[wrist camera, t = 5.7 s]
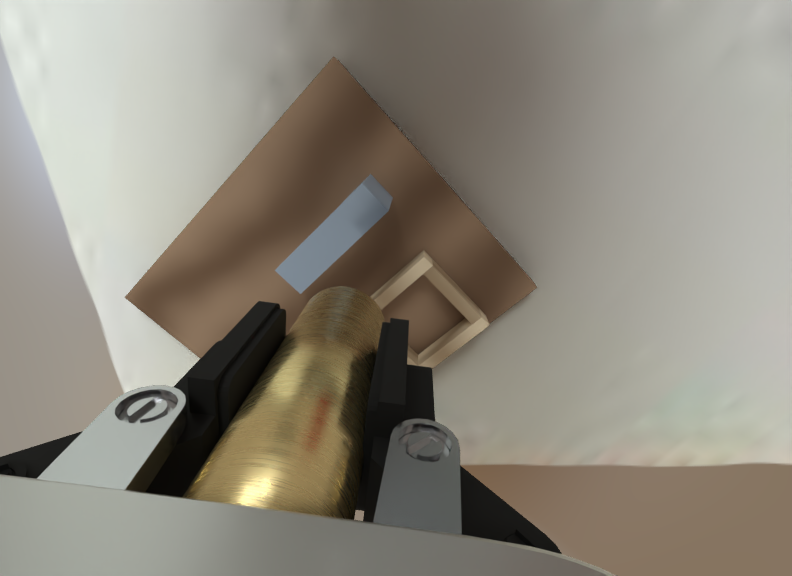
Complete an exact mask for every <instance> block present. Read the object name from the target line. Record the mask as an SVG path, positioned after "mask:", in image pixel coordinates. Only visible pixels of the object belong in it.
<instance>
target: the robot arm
mask: <svg viewBox="0 0 792 576" xmlns="http://www.w3.org/2000/svg"><path fill="white" fill-rule="evenodd" d="M408 335H409V320H404V319H396V318H391V319H390V323H389V322H382V327H381V333H380V338H379V344H378V349H377V354H376V360H375V365H374V370H373V376H372V381H371V387H370V392H369V398H368V405H367V412H366V421H365V430H364V439H363V454H364V460H363V468H362V474H361V480H360V486H359V492H358V498H357V504H356V510H362V511H364V519H363V521H358V520H350V519H343V518H336V517H328V516H321V515H314V514H306V513H299V512H292V511H284V510H276V509H269V508H261V507H254V506H246V505H238V504H231V503H223V502H215V501H208V500H200V499H192V498H184V497H183V495H184V494H185V492H186V491H187V489H188V488H189V486H190V484H191V483H192V481H193V480H194V478H195V477H196V475H197V474H198V472H199V470H200V469H201V467H202V466H203V464H204V463H205V461H206V460H207V458H208V457H209V455H210V453H211V452H212V450H213V449H214V447H215V446H216V444H217V443H218V441H219V439H220V438H221V436H222V435H223V433H224V432H225V430H226V429H227V427H228V426H229V424H230V422H231V421H232V419H233V418H234V416H235V415H236V413H237V412H238V410H239V408H240V407H241V405H242V404H243V402H244V401H245V399H246V398H247V396H248V394H249V393H250V391H251V390H252V388H253V387H254V385H255V384H256V382H257V381H258V379H259V377H260V376H261V374H262V373H263V371H264V370H265V368H266V367H267V365H268V363H269V362H270V360H271V359H272V357H273V356H274V354H275V353H276V351H277V350H278V348H279V346H280V345H281V343H282V342H283V340H284V339H285V337H286V310H285V309H280V305H279V304H278V303H271V302H264V301H258V302H257V303H256V304H255V305H254V306H253V307H252V308H251V309H250V311H249V312H248V313H247V314H246V315H245V316H244V317H243V318H242V319H241V320H240V321H239V322H238V323H237V324H236V325H235V327H234V328H233V329H232V330H231V331H230V332H229V333H228V334H227V335H226V336H225V337H224V338H223V339H222V340H221V341H218V342H216V343H215V344H214V345H213V346H212V347H211V348H210V349H209V350H208V351H207V352H206V353H205V355H204V356H203V357H202V358H201V359H200V360H199V361H198V362H197V363H196V364H195V365H194V366H193V367H192V368H191V369H190V370H189V371H188V372H187V373H186V374H185V376H184V377H183V378H182V379H181V380H180V381H179V382H178V383H177V384H176V385H175V386H174V387H171V386H165V385H153V386H147V387H141V388H138V389H135V390H132V391H129V392H127V393H125V394H123V395H121V396H119V397H118V398H117V399H115V400H114V401H113V402H112V403H111V404H110V405H109V406H108V407H107V408H106V409H105V410H104V411H103V412H102V413H101V414H100V415H99V416H98V417H97V418H96V419H95V420H94V421H93V422H92V423H91V424H90V425H89V426H88V427H87V428H86V429H85V430H84V431H82V432H79V433H76V434H72V435H69V436H66V437H63V438H60V439H57V440H53V441H50V442H47V443H44V444H41V445H37V446H34V447H31V448H28V449H25V450H21V451H18V452H15V453H12V454H9V455H6V456H2V457H0V576H616V575H614V574H612V573H610V572H608V571H606V570H604V569H602V568H599V567H597V566H594V565H591V564H589V563H586V562H583V561H580V560H577V559H574V558H572V557H569V556H566V555H563V554H562V553H561V552H560V550H559V549H558V547H557V546H556V545H555V544H554V543H553V542H552V541H551V540H550V539H549V538H548V537H547V536H546V535H545V534H544V533H543V532H541V531H540V530H539V529H538V528H537V527H535V526H534V525H533V524H532V523H530V522H529V521H528V520H527V519H526V518H524V517H523V516H522V515H520V514H519V513H518V512H517V511H515V510H514V509H513V508H512V507H511V506H509V505H508V504H507V503H506V502H505V501H503V500H502V499H501V498H500V497H498V496H497V495H496V494H495V493H493V492H492V491H491V490H490V489H489V488H487V487H486V486H485V485H484V484H482V483H481V482H480V481H479V480H477V479H476V478H475V477H474V476H472V475H471V474H470V473H469V472H468V471H466V470H465V469H464V468H462V467H461V466H460V447H459V443H458V440H457V438H456V437H455V435H454V434H453V432H451V431H450V430H449V429H448V428H447V427H445V426H444V425H442V424H440V423H438V422H435V414H434V397H433V379H432V368H431V367H424V366H416V365H408V364H407V356H408Z"/></svg>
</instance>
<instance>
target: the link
mask: <svg viewBox="0 0 792 576" xmlns="http://www.w3.org/2000/svg"><path fill="white" fill-rule="evenodd" d="M423 274H424V275H425V276H426V277H427V278H428V279H429V280H430V281H431V282H432V284H433V285H434V286H435V287H436V288H437V289H438V290H439V291H440V292H441V293H442V294H443V295H444V296H445V297H446V298H447V299H448V300H449V301H450V302H451V303H452V304H453V305H454V306H455V307H456V308H457V309H458V310H459V311H460V312H461V313H462V315H463V316H464V317H465V319H463V320H462V321H461V322H460V323H458V324H457V325H456V326H455V327H453V328H452V329H451V330H449V331H448V332H447V333H446V334H444V335H443V336H442V337H440V338H439V339H438V340H437V341H435V342H434V343H433V344H431V345H430V346H429V347H428V348H426V349H425V350H424V351H423V352H421V353H420V354H419V355H418V354H417V353H416V352H415V351H414V350H413V349H411V348H410V347H409V346H408V356H407V364H408V365H416V366H424V367H431V368H432V369H433V368H434V367H435V366H437V365H438V364H439V363H441V362H442V361H443V360H445V359H446V358H447V357H449V356H450V355H451V354H453V353H454V352H455V351H456V350H458V349H459V348H460V347H462V346H463V345H464V344H466V343H467V342H468V341H470V340H471V339H472V338H474V337H475V336H476V335H478V334H479V333H480V332H482V331H483V330H484V329H485V328H487V327H488V326H489V322H488V319H487V317H486V315H485V314H484V313H483V312H482V311H481V310H480V309H479V307H478V306H477V305H476V304H475V303H474V302H473V301H472V300H471V299H470V298H469V297H468V296H467V295H466V294H465V293H464V292H463V291H462V290H461V288H460V287H459V286H458V285H457V284H456V283H455V282H454V281H453V280H452V279H451V278H450V277H449V276H448V275H447V274H446V273H445V272H444V271H443V269H442V268H441V267H440V266H439V265H438V264H437V263H436V262H435V261H434V260H433V259H432V258H431V257H430V256H429V255H428V254H427V253H426V252H425V251H424V250H423V251H422V252H421V253H420V254H418V255H417V256H416V257H415V258H414V259H413V260H412V261H410V262H409V263H408V264H407V265H406V266H405V267H404V268H402V269H401V270H400V271H399V272H398V273H397V274H396V275H394V276H393V277H392V278H391V279H390V280H389V281H388V282H386V283H385V284H384V285H383V286H382V287H381V288H380V289H379V290H377V291H376V292H375V293H374V294H373V295H372V296H371V298H372V299H373V300H374V301H375V302H376V303H377V304H378V306H379V307H380V309H381V310H382V309H383V308H384V307H385V306H386V305H387V304H389V303H390V302H391V301H392V300H393V299H394V298H396V297H397V296H398V295H399V294H400V293H402V292H403V291H404V290H405V289H406V288H407V287H409V286H410V285H411V284H412V283H413V282H414V281H416V280H417V279H418V278H419V277H420V276H421V275H423Z"/></svg>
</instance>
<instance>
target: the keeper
mask: <svg viewBox="0 0 792 576" xmlns="http://www.w3.org/2000/svg"><path fill="white" fill-rule="evenodd" d="M392 199H393V197H392V196H391V195H390V194H389V193H388V192H387V191H386V190H385V189H384V188H383V187H382V185H381V184H380V183H379V182H378V181H377V180H376V179H375V178H374V177H373V176H372V175H371V174H370V175H369V176H368V177H367V178H366V179H365V180H364V181H363V182H362V183H361V184H360V185H359V186H358V187H357V188H356V189H355V190H354V191H353V192H352V193H351V194H350V195H349V196H348V197H347V198H346V199H345V200H344V201H343V202H342V204H341V205H340V206H339V207H338V208H337V209H336V210H335V211H334V212H333V213H332V214H331V215H330V216H329V217H328V218H327V219H326V220H325V221H324V222H323V223H322V224H321V225H320V226H319V227H318V228H317V229H316V230H315V231H314V232H313V233H312V234H311V235H309V236H308V237H307V238H306V239H305V240H304V241H303V242H302V243H301V244H300V245H299V246H298V247H297V248H296V249H295V250H294V251H293V252H292V253H291V254H290V255H289V256H288V257H287V258H286V259H285V260H284V261H283V262H282V263H281V264H280V265H279V266H278V268H277V269H276V270H275V271H276V272H277V273H278V274H279V275H280V276H281V277H282V278H283V279H285V280H286V281H287V282H288V283H289V284H290V285H291V286H292V287H293V288H294V289H295V290H297V291H298V292H299V293H300V294H301V293H302V292H303V291H304V290H305V289H306V288H307V287H309V286H310V285H311V284H312V283H313V282H314V281H315V280H316V279H317V278H318V277H319V276H320V275H321V274H322V273H323V272H324V271H326V270H327V269H328V268H329V267H330V266H331V265H332V264H333V263H334V262H335V261H336V260H337V259H338V258H339V257H340V256H341V255H342V254H344V253H345V252H346V251H347V250H348V249H349V248H350V247H351V246H352V245H353V244H354V243H355V242H356V241H357V240H358V239H359V238H361V237H362V236H363V235H364V234H365V233H366V232H367V231H368V230H369V229H370V228H371V227H372V226H373V225H374V224H375V223H376V222H377V221H379V220H380V219H381V218H382V217H383V216H384V215H385V214H386V213H387V212H388V211H389V208H390V205H391V202H392Z"/></svg>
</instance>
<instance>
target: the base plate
mask: <svg viewBox="0 0 792 576" xmlns="http://www.w3.org/2000/svg"><path fill="white" fill-rule="evenodd" d="M370 174H371V175H372V176H373V177H374V178H375V179H376V180H377V181H378V182H379V183H380V184H381V185H382V187H383V188H384V189H385V190H386V191H387V192H388V193H389V194H390V195H391V196H392V197H393V199H392V202H391V205H390V208H389V211H388V212H387V213H386V214H385V215H384V216H383V217H382V218H381V219H380V220H379V221H377V222H376V223H375V224H374V225H373V226H372V227H371V228H370V229H369V230H368V231H367V232H366V233H365V234H364V235H363V236H362V237H361V238H359V239H358V240H357V241H356V242H355V243H354V244H353V245H352V246H351V247H350V248H349V249H348V250H347V251H346V252H345V253H344V254H342V255H341V256H340V257H339V258H338V259H337V260H336V261H335V262H334V263H333V264H332V265H331V266H330V267H329V268H328V269H327V270H326V271H324V272H323V273H322V274H321V275H320V276H319V277H318V278H317V279H316V280H315V281H314V282H313V283H312V284H311V285H310V286H309V287H307V288H306V289H305V290H304V291H303V292H302V293H301V294H300V293H299V292H298V291H297V290H295V289H294V288H293V287H292V286H291V285H290V284H289V283H288V282H287V281H286V280H285V279H283V278H282V277H281V276H280V275H279V274H278V273H277V272H276V271H275V270H276V269H277V268H278V266H279V265H280V264H281V263H282V262H283V261H284V260H285V259H286V258H287V257H288V256H289V255H290V254H291V253H292V252H293V251H294V250H295V249H296V248H297V247H298V246H299V245H300V244H301V243H302V242H303V241H304V240H305V239H306V238H307V237H308V236H309V235H311V234H312V233H313V232H314V231H315V230H316V229H317V228H318V227H319V226H320V225H321V224H322V223H323V222H324V221H325V220H326V219H327V218H328V217H329V216H330V215H331V214H332V213H333V212H334V211H335V210H336V209H337V208H338V207H339V206H340V205H341V204H342V202H343V201H344V200H345V199H346V198H347V197H348V196H349V195H350V194H351V193H352V192H353V191H354V190H355V189H356V188H357V187H358V186H359V185H360V184H361V183H362V182H363V181H364V180H365V179H366V178H367V177H368V176H369V175H370ZM423 250H424V251H425V252H426V253H427V254H428V255H429V256H430V257H431V258H432V259H433V260H434V261H435V262H436V263H437V264H438V265H439V266H440V267H441V268H442V269H443V271H444V272H445V273H446V274H447V275H448V276H449V277H450V278H451V279H452V280H453V281H454V282H455V283H456V284H457V285H458V286H459V287H460V288H461V290H462V291H463V292H464V293H465V294H466V295H467V296H468V297H469V298H470V299H471V300H472V301H473V302H474V303H475V304H476V305H477V306H478V307H479V309H480V310H481V311H482V312H483V313H484V314H485V315H486V317H487V319H488V322H489V324H490V323H491V322H492V321H494V320H495V319H496V318H498V317H499V316H500V315H502V314H503V313H504V312H505V311H507V310H508V309H509V308H511V307H512V306H513V305H515V304H516V303H517V302H519V301H520V300H521V299H523V298H524V297H525V296H527V295H528V294H529V293H531V292H532V291H533V290H534V289H536V288H537V286H536V285H535V283H534V282H533V281H532V279H531V278H530V277H529V276H528V275H527V274H526V273H525V271H524V270H523V269H522V268H521V267H520V266H519V265H518V263H517V262H516V261H515V260H514V259H513V258H512V257H511V255H510V254H509V253H508V252H507V251H506V250H505V249H504V248H503V246H502V245H501V244H500V243H499V242H498V241H497V240H496V238H495V237H494V236H493V235H492V234H491V233H490V232H489V231H488V229H487V228H486V227H485V226H484V225H483V224H482V223H481V221H480V220H479V219H478V218H477V217H476V216H475V215H474V213H473V212H472V211H471V210H470V209H469V208H468V207H467V206H466V204H465V203H464V202H463V201H462V200H461V199H460V198H459V196H458V195H457V194H456V193H455V192H454V191H453V190H452V189H451V187H450V186H449V185H448V184H447V183H446V182H445V181H444V179H443V178H442V177H441V176H440V175H439V174H438V173H437V172H436V170H435V169H434V168H433V167H432V166H431V165H430V164H429V162H428V161H427V160H426V159H425V158H424V157H423V156H422V154H421V153H420V152H419V151H418V150H417V149H416V148H415V147H414V145H413V144H412V143H411V142H410V141H409V140H408V139H407V137H406V136H405V135H404V134H403V133H402V132H401V131H400V130H399V128H398V127H397V126H396V125H395V124H394V123H393V122H392V120H391V119H390V118H389V117H388V116H387V115H386V114H385V112H384V111H383V110H382V109H381V108H380V107H379V106H378V105H377V103H376V102H375V101H374V100H373V99H372V98H371V97H370V95H369V94H368V93H367V92H366V91H365V90H364V89H363V88H362V86H361V85H360V84H359V83H358V82H357V81H356V80H355V78H354V77H353V76H352V75H351V74H350V73H349V72H348V71H347V69H346V68H345V67H344V66H343V65H342V64H341V63H340V61H339V60H338V59H336V58H335V57H333V58H332V59H331V60H330V61H329V62H328V64H327V65H326V66H325V67H324V68H323V69H322V70H321V72H320V73H319V74H318V75H317V76H316V77H315V79H314V80H313V81H312V82H311V83H310V84H309V85H308V87H307V88H306V89H305V90H304V91H303V92H302V94H301V95H300V96H299V97H298V98H297V99H296V100H295V102H294V103H293V104H292V105H291V106H290V107H289V109H288V110H287V111H286V112H285V113H284V114H283V115H282V117H281V118H280V119H279V120H278V121H277V122H276V124H275V125H274V126H273V127H272V128H271V129H270V130H269V132H268V133H267V134H266V135H265V136H264V137H263V139H262V140H261V141H260V142H259V143H258V144H257V145H256V147H255V148H254V149H253V150H252V151H251V152H250V154H249V155H248V156H247V157H246V158H245V159H244V160H243V162H242V163H241V164H240V165H239V166H238V167H237V169H236V170H235V171H234V172H233V173H232V174H231V175H230V177H229V178H228V179H227V180H226V181H225V182H224V184H223V185H222V186H221V187H220V188H219V189H218V190H217V192H216V193H215V194H214V195H213V196H212V197H211V199H210V200H209V201H208V202H207V203H206V204H205V205H204V207H203V208H202V209H201V210H200V211H199V212H198V214H197V215H196V216H195V217H194V218H193V219H192V220H191V222H190V223H189V224H188V225H187V226H186V227H185V229H184V230H183V231H182V232H181V233H180V234H179V235H178V237H177V238H176V239H175V240H174V241H173V242H172V244H171V245H170V246H169V247H168V248H167V249H166V250H165V252H164V253H163V254H162V255H161V256H160V257H159V259H158V260H157V261H156V262H155V263H154V264H153V265H152V267H151V268H150V269H149V270H148V271H147V272H146V274H145V275H144V276H143V277H142V278H141V279H140V280H139V282H138V283H137V284H136V285H135V286H134V287H133V289H132V290H131V291H130V292H129V293H128V294H127V295H126V297H125V298H126V299H127V300H128V301H130V302H131V303H132V304H133V305H135V306H136V307H137V308H138V309H140V310H141V311H142V312H143V313H145V314H146V315H147V316H148V317H150V318H151V319H152V320H153V321H155V322H156V323H157V324H158V325H159V326H161V327H162V328H163V329H164V330H166V331H167V332H168V333H169V334H171V335H172V336H173V337H174V338H176V339H177V340H178V341H179V342H181V343H182V344H183V345H184V346H186V347H187V348H188V349H189V350H191V351H192V352H193V353H194V354H196V355H197V356H198V357H199V358H200V359H201V358H202V357H203V356H204V355H205V353H206V352H207V351H208V350H209V349H210V348H211V347H212V346H213V345H214V344H215V343H216V342H218V341H221V340H222V339H223V338H224V337H225V336H226V335H227V334H228V333H229V332H230V331H231V330H232V329H233V328H234V327H235V325H236V324H237V323H238V322H239V321H240V320H241V319H242V318H243V317H244V316H245V315H246V314H247V313H248V312H249V311H250V309H251V308H252V307H253V306H254V305H255V304H256V303H257V302H258V301H264V302H271V303H278V304H279V305H280V309H285V310H286V336H287V334H288V332H289V331H290V329H291V328H292V326H293V325H294V323H295V322H296V320H297V319H298V317H299V315H300V314H301V312H302V311H303V309H304V308H305V306H306V305H307V303H308V302H309V300H310V299H311V298H312V297H313V296H314V295H315V294H317V293H318V292H320V291H322V290H324V289H327V288H330V287H336V286H345V287H351V288H355V289H358V290H360V291H362V292H364V293H366V294H367V295H369V296H370V297H371V296H372V295H373V294H374V293H375V292H376V291H377V290H379V289H380V288H381V287H382V286H383V285H384V284H385V283H386V282H388V281H389V280H390V279H391V278H392V277H393V276H394V275H396V274H397V273H398V272H399V271H400V270H401V269H402V268H404V267H405V266H406V265H407V264H408V263H409V262H410V261H412V260H413V259H414V258H415V257H416V256H417V255H418V254H420V253H421V252H422V251H423ZM381 311H382V313H383V316H384V320H385V322H389V323H390V319H391V318H396V319H404V320H409V335H408V346H409V347H410V348H411V349H413V350H414V351H415V352H416V353H417V354H418V355H419V354H420V353H421V352H423V351H424V350H425V349H426V348H428V347H429V346H430V345H431V344H433V343H434V342H435V341H437V340H438V339H439V338H440V337H442V336H443V335H444V334H446V333H447V332H448V331H449V330H451V329H452V328H453V327H455V326H456V325H457V324H458V323H460V322H461V321H462V320H463V319H465V317H464V316H463V315H462V313H461V312H460V311H459V310H458V309H457V308H456V307H455V306H454V305H453V304H452V303H451V302H450V301H449V300H448V299H447V298H446V297H445V296H444V295H443V294H442V293H441V292H440V291H439V290H438V289H437V288H436V287H435V286H434V285H433V284H432V282H431V281H430V280H429V279H428V278H427V277H426V276H425V275H424V274H423V275H421V276H420V277H419V278H418V279H417V280H416V281H414V282H413V283H412V284H411V285H410V286H409V287H407V288H406V289H405V290H404V291H403V292H402V293H400V294H399V295H398V296H397V297H396V298H394V299H393V300H392V301H391V302H390V303H389V304H387V305H386V306H385V307H384V308H383V309H382V310H381Z"/></svg>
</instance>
